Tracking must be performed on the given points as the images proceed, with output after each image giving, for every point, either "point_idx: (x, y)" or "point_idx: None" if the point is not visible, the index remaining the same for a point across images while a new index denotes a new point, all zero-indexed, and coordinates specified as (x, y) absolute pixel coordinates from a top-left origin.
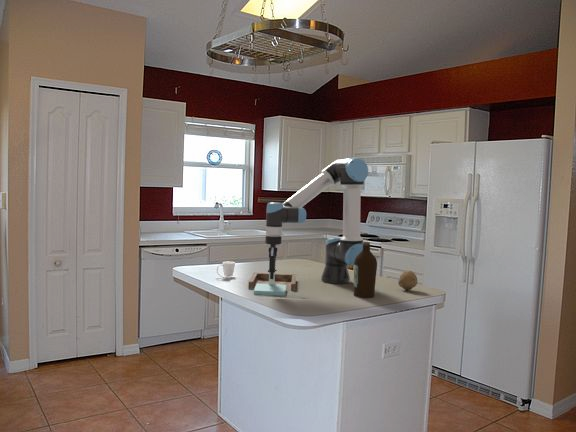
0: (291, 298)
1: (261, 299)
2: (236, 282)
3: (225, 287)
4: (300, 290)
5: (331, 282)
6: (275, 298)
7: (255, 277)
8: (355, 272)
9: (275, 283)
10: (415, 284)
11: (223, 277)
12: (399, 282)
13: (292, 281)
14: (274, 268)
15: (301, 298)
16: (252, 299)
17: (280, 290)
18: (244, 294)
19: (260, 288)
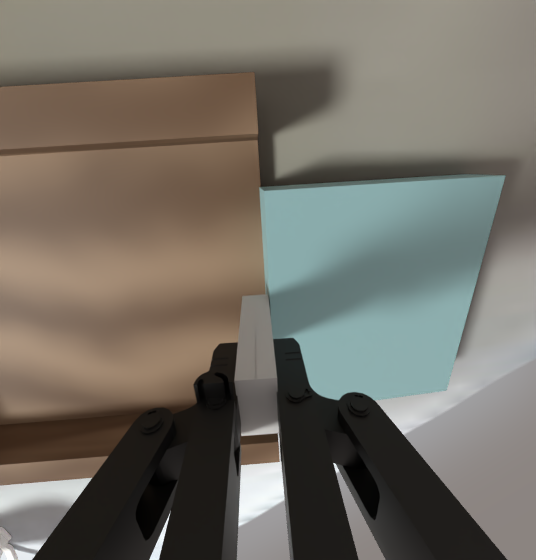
0: (508, 113)
1: (519, 315)
2: None
3: (242, 498)
4: (150, 39)
5: None
6: (499, 239)
7: (74, 453)
8: None
9: (25, 302)
10: None
11: (12, 548)
12: None
13: (121, 127)
14: (372, 431)
15: (517, 5)
16: (514, 357)
17: (458, 223)
18: (390, 409)
19: (400, 367)
